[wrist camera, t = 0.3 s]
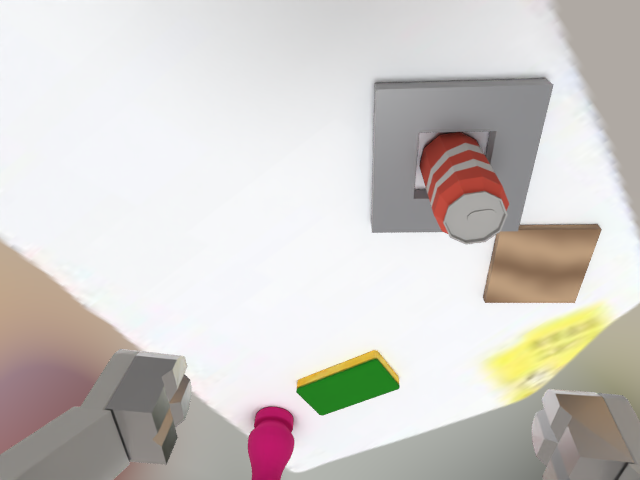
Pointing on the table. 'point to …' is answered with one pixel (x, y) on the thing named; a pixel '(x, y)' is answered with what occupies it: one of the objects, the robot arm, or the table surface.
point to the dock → (452, 116)
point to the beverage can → (463, 189)
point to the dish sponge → (348, 383)
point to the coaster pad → (540, 263)
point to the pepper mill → (270, 443)
